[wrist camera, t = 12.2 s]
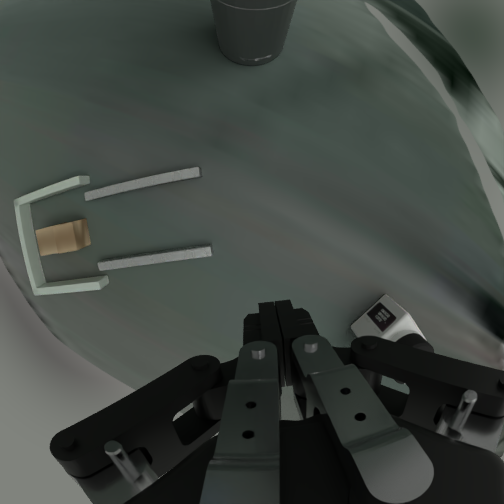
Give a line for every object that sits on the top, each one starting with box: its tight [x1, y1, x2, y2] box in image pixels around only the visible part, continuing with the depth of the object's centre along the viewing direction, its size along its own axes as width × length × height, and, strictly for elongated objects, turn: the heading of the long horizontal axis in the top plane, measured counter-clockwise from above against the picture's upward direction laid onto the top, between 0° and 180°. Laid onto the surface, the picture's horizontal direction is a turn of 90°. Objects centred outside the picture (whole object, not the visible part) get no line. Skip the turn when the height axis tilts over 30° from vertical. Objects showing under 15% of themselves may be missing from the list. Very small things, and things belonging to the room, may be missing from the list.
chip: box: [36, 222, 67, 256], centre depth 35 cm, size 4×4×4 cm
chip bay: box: [14, 176, 109, 296], centre depth 35 cm, size 16×15×3 cm
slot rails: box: [85, 167, 214, 271], centre depth 35 cm, size 11×17×2 cm
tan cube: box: [53, 218, 91, 254], centre depth 35 cm, size 4×4×4 cm
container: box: [351, 294, 434, 384], centre depth 35 cm, size 8×8×13 cm
